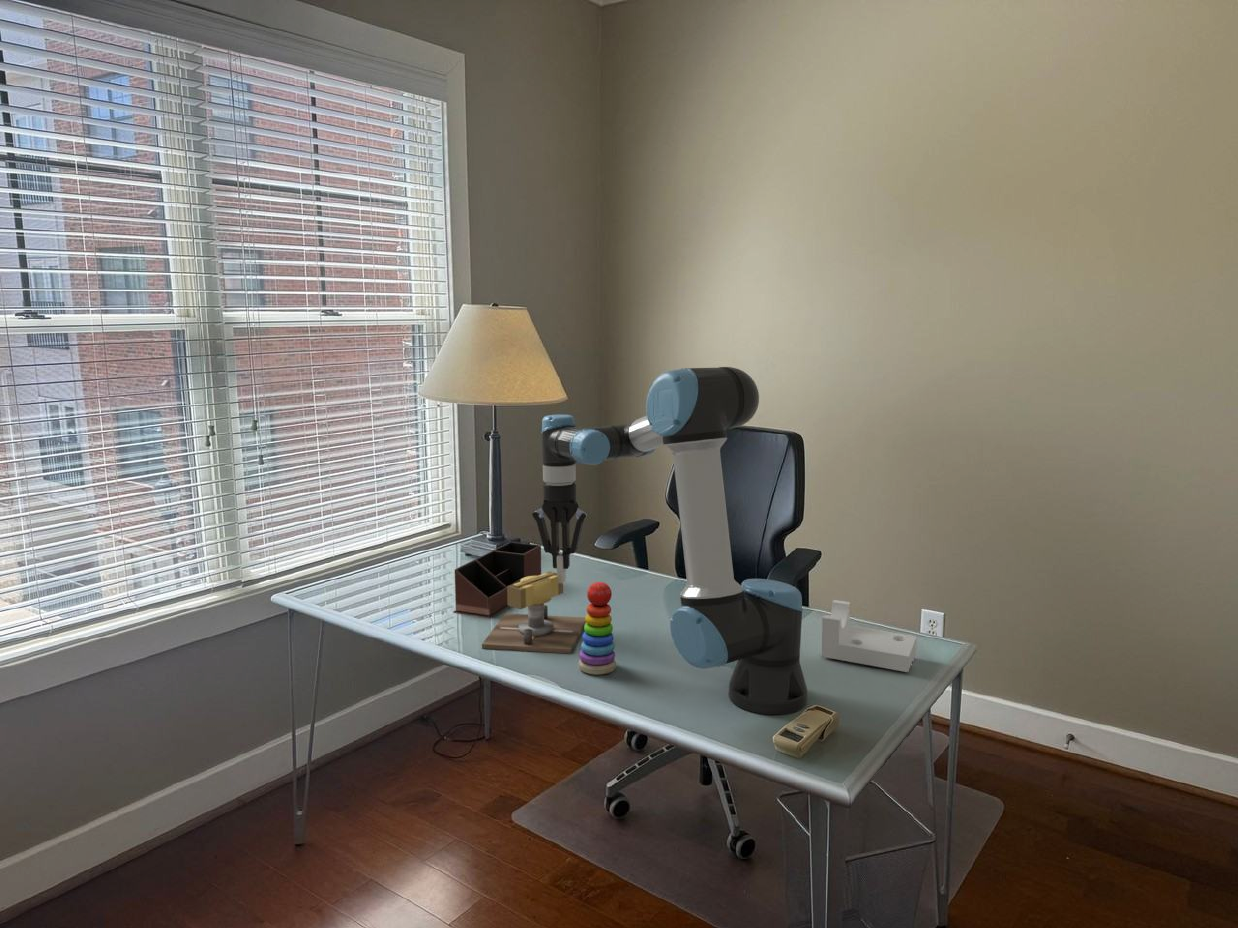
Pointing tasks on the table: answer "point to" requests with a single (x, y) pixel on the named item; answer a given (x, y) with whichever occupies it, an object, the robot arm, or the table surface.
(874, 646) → the white mounting bracket
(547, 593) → the yellow block with ball
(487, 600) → the desk organizer
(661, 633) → the table surface
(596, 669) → the stacking toy
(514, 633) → the base
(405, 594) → the table surface
